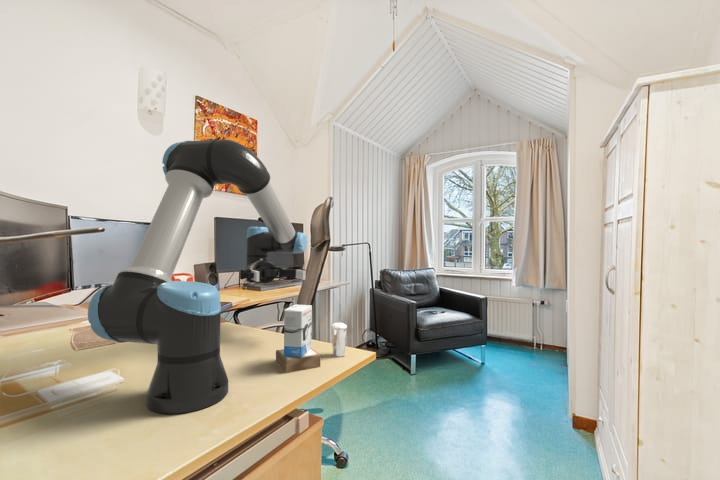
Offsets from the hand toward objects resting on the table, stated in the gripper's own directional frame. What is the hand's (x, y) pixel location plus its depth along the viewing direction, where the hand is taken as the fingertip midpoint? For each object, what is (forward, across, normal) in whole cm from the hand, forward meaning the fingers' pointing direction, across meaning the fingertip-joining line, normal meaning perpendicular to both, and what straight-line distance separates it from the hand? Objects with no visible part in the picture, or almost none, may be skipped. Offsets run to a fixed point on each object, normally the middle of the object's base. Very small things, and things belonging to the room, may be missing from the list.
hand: (282, 276), depth 100 cm
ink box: (+10, +2, +19) cm, 22 cm away
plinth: (+10, +2, +22) cm, 25 cm away
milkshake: (+9, +15, +22) cm, 28 cm away
